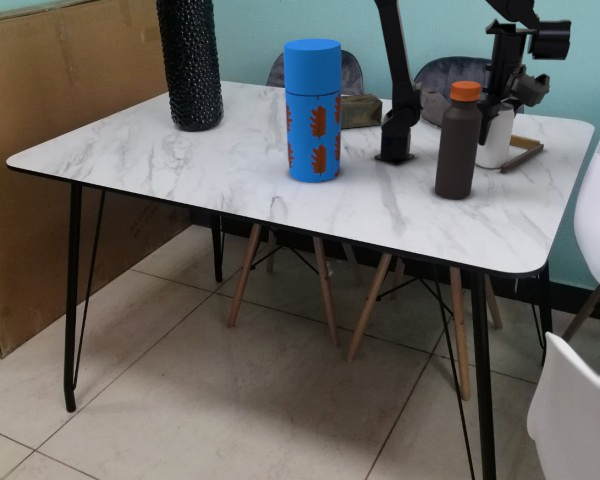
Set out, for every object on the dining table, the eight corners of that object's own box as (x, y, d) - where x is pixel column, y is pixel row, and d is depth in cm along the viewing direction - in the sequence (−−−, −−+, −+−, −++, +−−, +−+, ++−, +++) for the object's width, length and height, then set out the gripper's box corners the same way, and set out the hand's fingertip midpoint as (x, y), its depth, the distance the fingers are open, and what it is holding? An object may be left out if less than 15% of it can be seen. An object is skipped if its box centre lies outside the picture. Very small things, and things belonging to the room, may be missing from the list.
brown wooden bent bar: (504, 173, 116) (506, 164, 115) (461, 161, 122) (462, 152, 121) (542, 150, 126) (544, 141, 125) (501, 140, 132) (502, 132, 130)
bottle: (477, 191, 109) (494, 83, 98) (458, 203, 106) (473, 92, 94) (446, 182, 113) (459, 77, 102) (427, 193, 110) (438, 85, 98)
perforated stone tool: (458, 130, 138) (462, 101, 134) (438, 133, 137) (441, 103, 133) (431, 112, 150) (434, 85, 146) (413, 115, 149) (415, 87, 145)
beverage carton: (383, 125, 143) (384, 98, 139) (308, 133, 140) (307, 106, 136) (372, 116, 149) (374, 90, 145) (301, 123, 146) (300, 97, 142)
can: (498, 171, 117) (509, 112, 110) (468, 165, 120) (477, 107, 113) (510, 161, 121) (521, 104, 114) (481, 155, 124) (489, 99, 118)
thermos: (347, 166, 122) (350, 40, 107) (328, 185, 114) (328, 52, 99) (301, 160, 126) (297, 37, 111) (279, 178, 118) (272, 48, 103)
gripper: (523, 75, 99) (507, 161, 108) (569, 55, 109) (551, 136, 118) (466, 66, 105) (455, 148, 114) (515, 48, 116) (502, 125, 125)
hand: (493, 139), depth 118 cm, fingers open, 9 cm apart
